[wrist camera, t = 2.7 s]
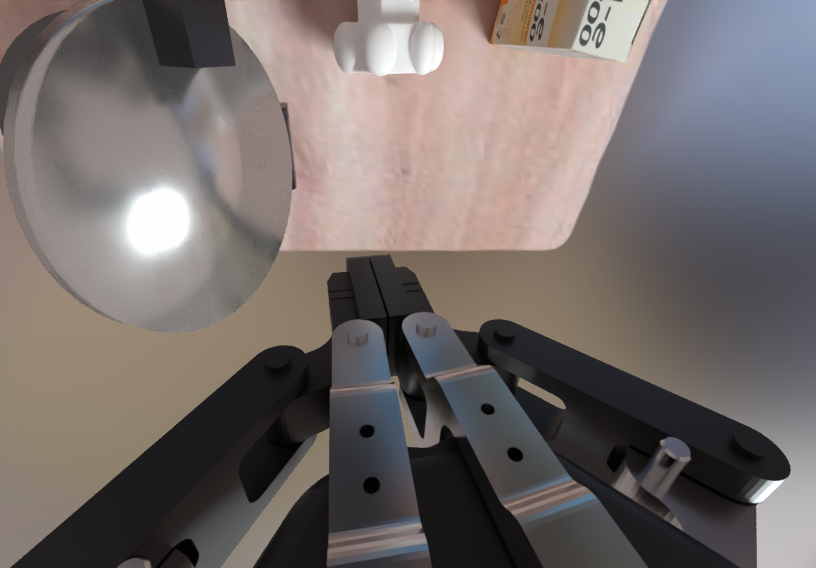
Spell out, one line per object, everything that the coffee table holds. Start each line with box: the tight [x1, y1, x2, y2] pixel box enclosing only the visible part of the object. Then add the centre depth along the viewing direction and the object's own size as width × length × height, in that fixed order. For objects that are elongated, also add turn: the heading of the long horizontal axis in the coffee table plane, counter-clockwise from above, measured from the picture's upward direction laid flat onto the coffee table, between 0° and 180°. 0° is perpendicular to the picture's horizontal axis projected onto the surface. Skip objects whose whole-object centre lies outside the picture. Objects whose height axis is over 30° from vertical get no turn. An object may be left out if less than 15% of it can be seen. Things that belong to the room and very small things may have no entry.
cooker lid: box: [3, 0, 296, 333], centre depth 17 cm, size 20×15×3 cm
